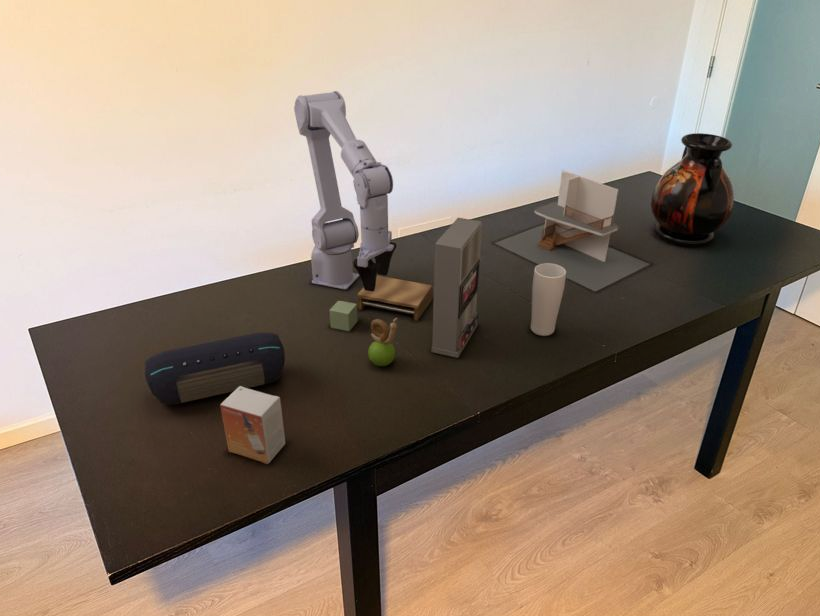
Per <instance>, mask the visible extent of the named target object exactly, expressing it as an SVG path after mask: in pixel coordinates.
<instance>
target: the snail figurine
mask: <svg viewBox="0 0 820 616" xmlns="http://www.w3.org/2000/svg"><path fill="white" fill-rule="evenodd" d="M397 322H398V317H395V318H394V319H392V322H390V324H389V325H388V324H387V322H386V321H384V320H383V319H380V318H375V319H373V320H372V321H371V323H370V330H371V333H370V335H371V336H370V337H372V339H373V340H374V341H373V342H372V343H371V344H370V345H369V347H368V349H367V350H368V351H367V352H368V353H367V355H368V359H369V360H370V362H371V363H372V364H374V365H375V366H378V367H386V366H388V365H390V364H392V362H394V360H395V357H396V349H395V346H394V344H393V343H392V342H393V341H394V339H395V337H396V333H397V332H396V331H397V329H398V325H397Z"/></svg>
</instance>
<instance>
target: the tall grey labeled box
mask: <svg viewBox="0 0 820 616" xmlns="http://www.w3.org/2000/svg"><path fill="white" fill-rule="evenodd" d="M482 229H483V221H481V220H475V219H469V218H463V217H457V218H456V219H455V220H454V222H453V223H451V225H450V226H449V227H448V228H447V229H446V230H445V232H443V234H442V235H441V236H440V237H439V238H438V240H437V241H436V242H435V243H434V262H433V263H434V265H433V266H434V267H433V268H434V269H433V306H432V313H433V314H432V340H431V341H432V342H431V344H432V345H431V347H430V349H431V351H430V352H431V353H435V354H439V355H443V356H446V357H450V358H451V357H452V358H456V359H459V357H460V355H462V352H463V350H464V349H465V347H466V345H467V344H468V342H469V340H470V339H471V337H472V336H473V334H474V332H475V330H476V328H477V327H478V326H479V311H477V301H478V291H479V277H480V262H481V261H480V259H481V245H482V244H481V243H482Z"/></svg>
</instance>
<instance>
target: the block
mask: <svg viewBox="0 0 820 616" xmlns="http://www.w3.org/2000/svg"><path fill="white" fill-rule="evenodd" d="M328 311H329V323H330V324H329V325H330V329H336V330H341V331H346V332H351V330H352V329H353V328H354V327H355V325H356V324H357V323H358V321H359V318H358V303H354V302H349V301H343V300H337V301H336V302H335V304H333V305H332V306H331V308H330V309H329V310H328Z"/></svg>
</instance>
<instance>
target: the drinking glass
mask: <svg viewBox="0 0 820 616" xmlns="http://www.w3.org/2000/svg"><path fill="white" fill-rule="evenodd" d="M566 279H567V278H566V270H565V269H564V268H563V267H561V266H559V265H556V264H551V263H544V264H540V265H538V264H536V265H535V267H534V269H533V275H532V283H531V284H532V285H531V314H530V315H531V316H530V317H531V318H530V319H531V320H530V331H531V332H532V333H534V334H535V335H538V336H540V337H547V336H551V335H552V334H554V332H555V330H556V325H557V320H558V317H559V316H558V315H559V310H560V308H561V303H562V300H563V296H564V292H565V287H566Z"/></svg>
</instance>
